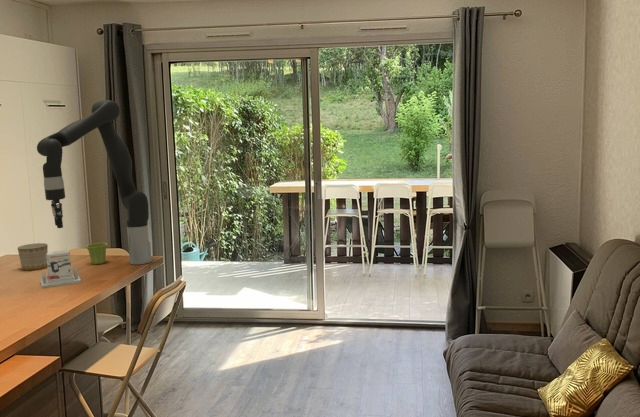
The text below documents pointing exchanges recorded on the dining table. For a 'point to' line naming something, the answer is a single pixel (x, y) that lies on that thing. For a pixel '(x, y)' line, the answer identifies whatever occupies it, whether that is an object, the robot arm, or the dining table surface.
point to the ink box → (58, 264)
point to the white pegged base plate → (60, 280)
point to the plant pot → (97, 252)
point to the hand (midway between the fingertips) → (59, 226)
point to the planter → (33, 256)
